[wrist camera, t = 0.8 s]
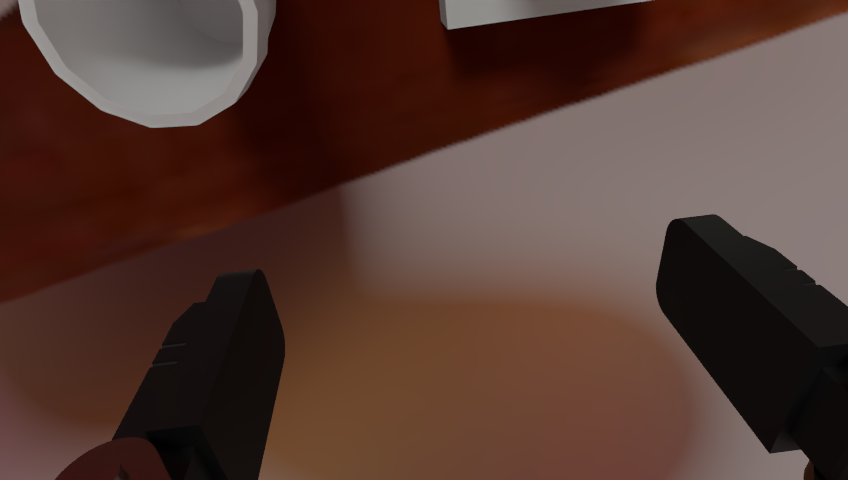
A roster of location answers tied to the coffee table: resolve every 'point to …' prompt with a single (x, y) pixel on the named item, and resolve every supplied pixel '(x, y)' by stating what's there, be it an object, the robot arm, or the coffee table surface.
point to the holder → (512, 10)
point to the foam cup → (154, 53)
